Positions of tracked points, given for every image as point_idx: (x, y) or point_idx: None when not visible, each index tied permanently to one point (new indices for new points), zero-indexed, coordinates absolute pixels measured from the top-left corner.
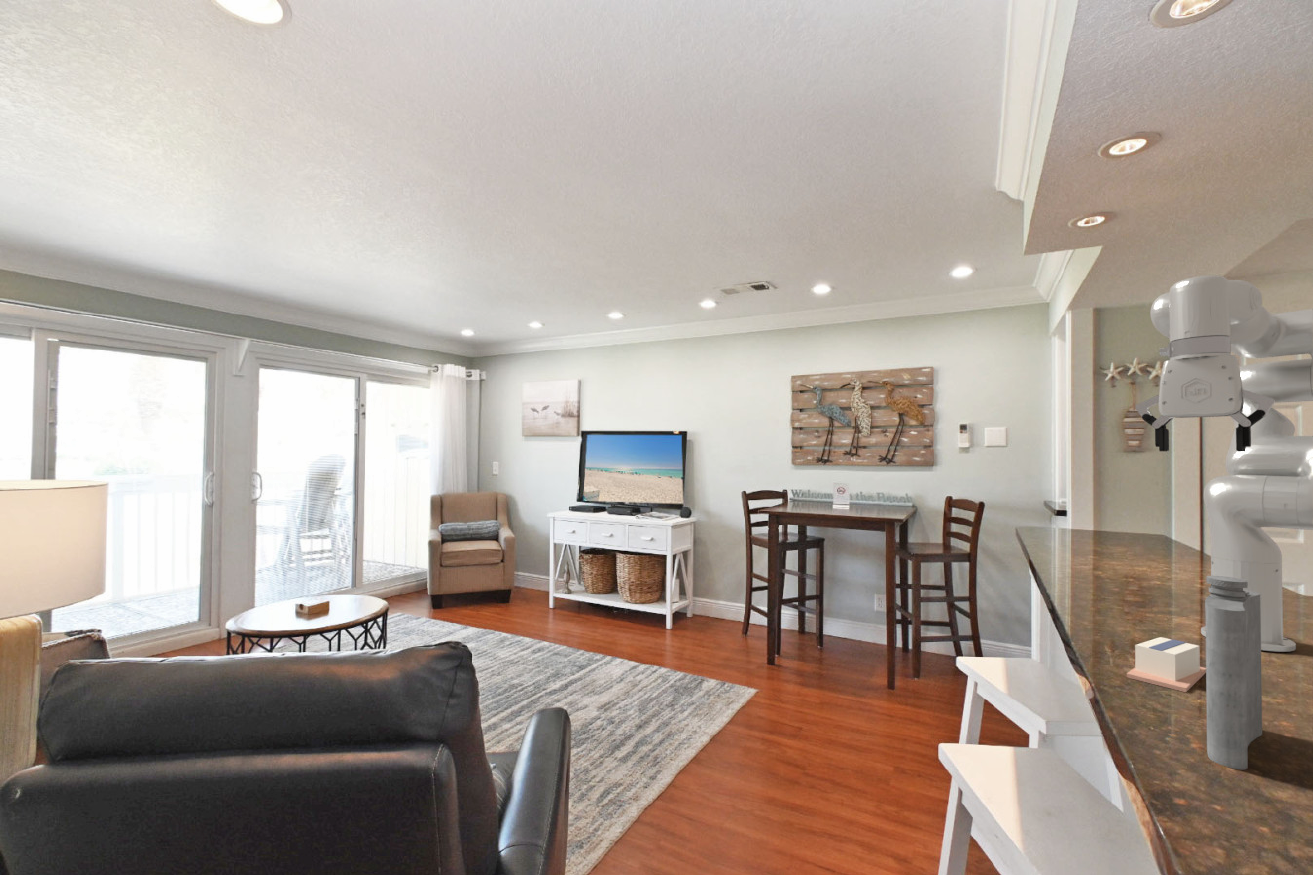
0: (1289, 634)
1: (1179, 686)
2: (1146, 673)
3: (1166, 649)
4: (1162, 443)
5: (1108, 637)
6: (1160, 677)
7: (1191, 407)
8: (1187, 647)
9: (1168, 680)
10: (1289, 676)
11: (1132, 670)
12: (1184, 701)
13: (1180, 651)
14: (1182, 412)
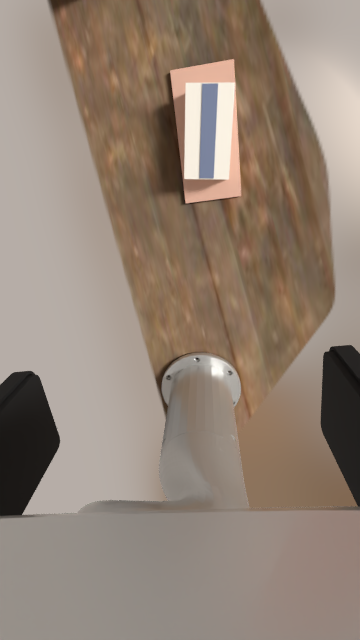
0: None
1: (176, 70)
2: None
3: (201, 103)
4: (350, 363)
5: (307, 256)
6: None
7: (157, 635)
8: (189, 150)
9: None
10: (135, 275)
11: None
12: (159, 24)
13: (187, 114)
14: (274, 541)
